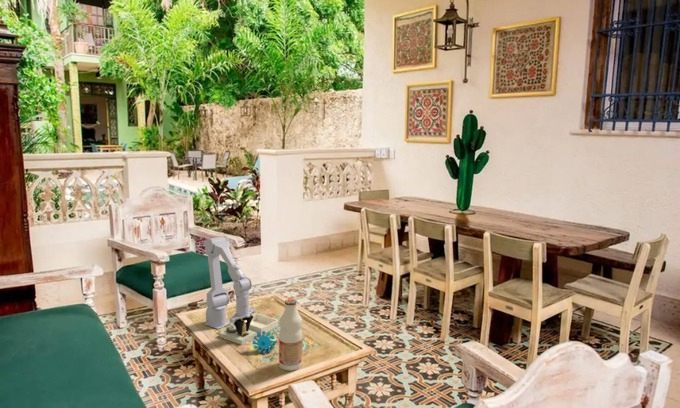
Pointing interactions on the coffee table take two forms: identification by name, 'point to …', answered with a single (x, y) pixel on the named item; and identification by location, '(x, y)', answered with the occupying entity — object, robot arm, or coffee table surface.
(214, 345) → the coffee table surface
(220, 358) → the coffee table surface
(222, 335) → the block
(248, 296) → the robot arm
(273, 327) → the tray
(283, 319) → the fruit juice
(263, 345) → the gear
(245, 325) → the pin
